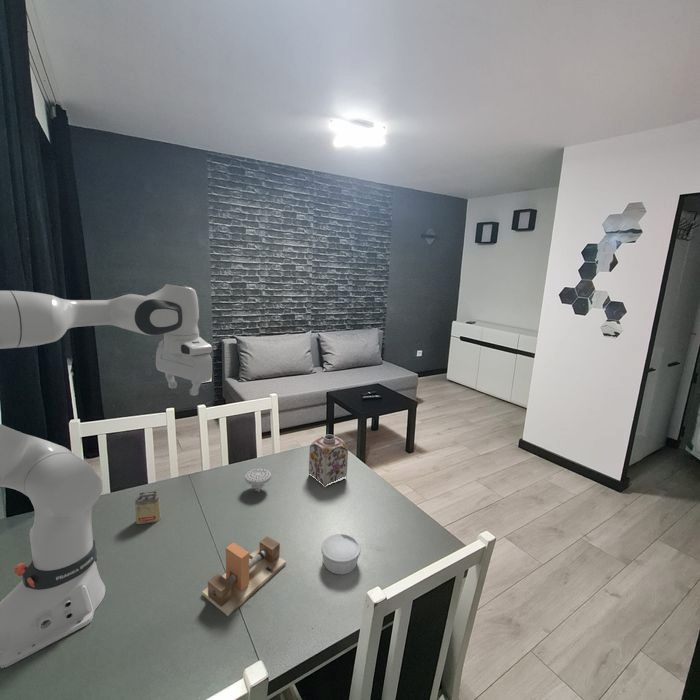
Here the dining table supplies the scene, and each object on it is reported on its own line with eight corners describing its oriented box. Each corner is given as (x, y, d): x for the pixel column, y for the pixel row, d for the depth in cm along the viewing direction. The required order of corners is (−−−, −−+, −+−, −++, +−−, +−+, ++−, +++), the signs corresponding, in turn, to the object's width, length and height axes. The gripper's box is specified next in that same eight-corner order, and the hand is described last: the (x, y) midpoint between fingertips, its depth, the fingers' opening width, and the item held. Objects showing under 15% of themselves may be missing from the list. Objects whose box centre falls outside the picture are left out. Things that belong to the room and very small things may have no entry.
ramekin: (366, 558, 107) (367, 543, 106) (346, 584, 97) (347, 568, 96) (334, 543, 112) (335, 528, 111) (313, 566, 103) (313, 550, 102)
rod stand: (227, 616, 86) (227, 596, 85) (202, 594, 92) (201, 576, 91) (285, 564, 103) (286, 547, 102) (261, 548, 108) (261, 532, 107)
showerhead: (241, 479, 130) (248, 465, 140) (241, 497, 132) (248, 482, 141) (268, 480, 131) (272, 466, 140) (267, 498, 132) (272, 483, 142)
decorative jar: (330, 467, 157) (332, 428, 153) (347, 479, 148) (350, 438, 145) (307, 475, 149) (309, 434, 146) (323, 488, 141) (325, 446, 137)
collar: (241, 591, 92) (241, 558, 90) (226, 579, 95) (225, 547, 93) (248, 584, 94) (249, 552, 92) (233, 573, 97) (233, 542, 95)
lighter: (134, 525, 114) (133, 497, 112) (137, 517, 118) (135, 490, 116) (160, 521, 117) (158, 494, 115) (161, 514, 120) (160, 487, 118)
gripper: (148, 339, 102) (150, 386, 105) (196, 350, 92) (197, 402, 95) (169, 337, 107) (170, 381, 110) (216, 347, 98) (216, 396, 100)
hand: (183, 391), depth 102 cm, fingers open, 8 cm apart
